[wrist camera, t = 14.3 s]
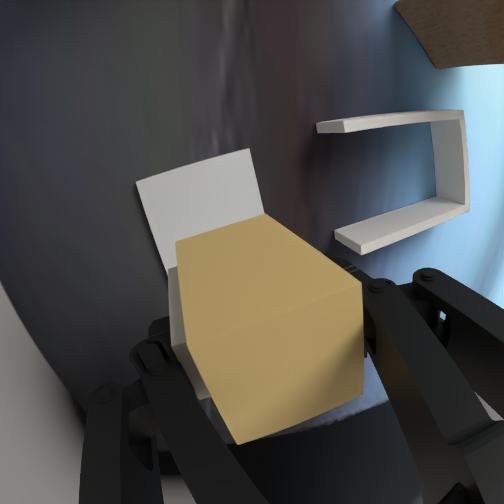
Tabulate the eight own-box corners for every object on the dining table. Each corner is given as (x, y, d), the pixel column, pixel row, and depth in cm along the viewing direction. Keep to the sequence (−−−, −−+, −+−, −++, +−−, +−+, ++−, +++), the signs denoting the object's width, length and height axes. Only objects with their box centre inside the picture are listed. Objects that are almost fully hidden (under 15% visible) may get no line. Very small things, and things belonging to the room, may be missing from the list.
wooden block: (435, 70, 28) (574, 68, 9) (390, 4, 23) (528, -36, 5) (462, 42, 27) (577, 37, 9) (424, -16, 23) (538, -44, 5)
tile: (136, 181, 24) (135, 182, 24) (247, 148, 26) (249, 148, 25) (171, 283, 28) (171, 285, 28) (271, 250, 30) (273, 252, 29)
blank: (174, 241, 16) (187, 346, 7) (265, 213, 16) (361, 282, 8) (202, 319, 17) (237, 444, 9) (282, 292, 18) (362, 393, 10)
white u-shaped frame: (315, 123, 27) (343, 120, 22) (432, 109, 29) (463, 110, 25) (335, 238, 31) (361, 255, 27) (441, 201, 34) (469, 211, 29)
